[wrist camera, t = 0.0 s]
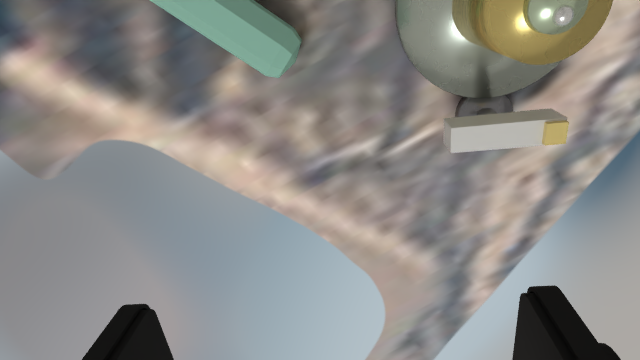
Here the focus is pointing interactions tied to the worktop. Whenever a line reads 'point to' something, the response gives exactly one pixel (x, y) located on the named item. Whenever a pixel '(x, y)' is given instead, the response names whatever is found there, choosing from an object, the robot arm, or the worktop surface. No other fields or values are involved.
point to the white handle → (504, 130)
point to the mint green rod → (241, 31)
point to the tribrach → (493, 43)
